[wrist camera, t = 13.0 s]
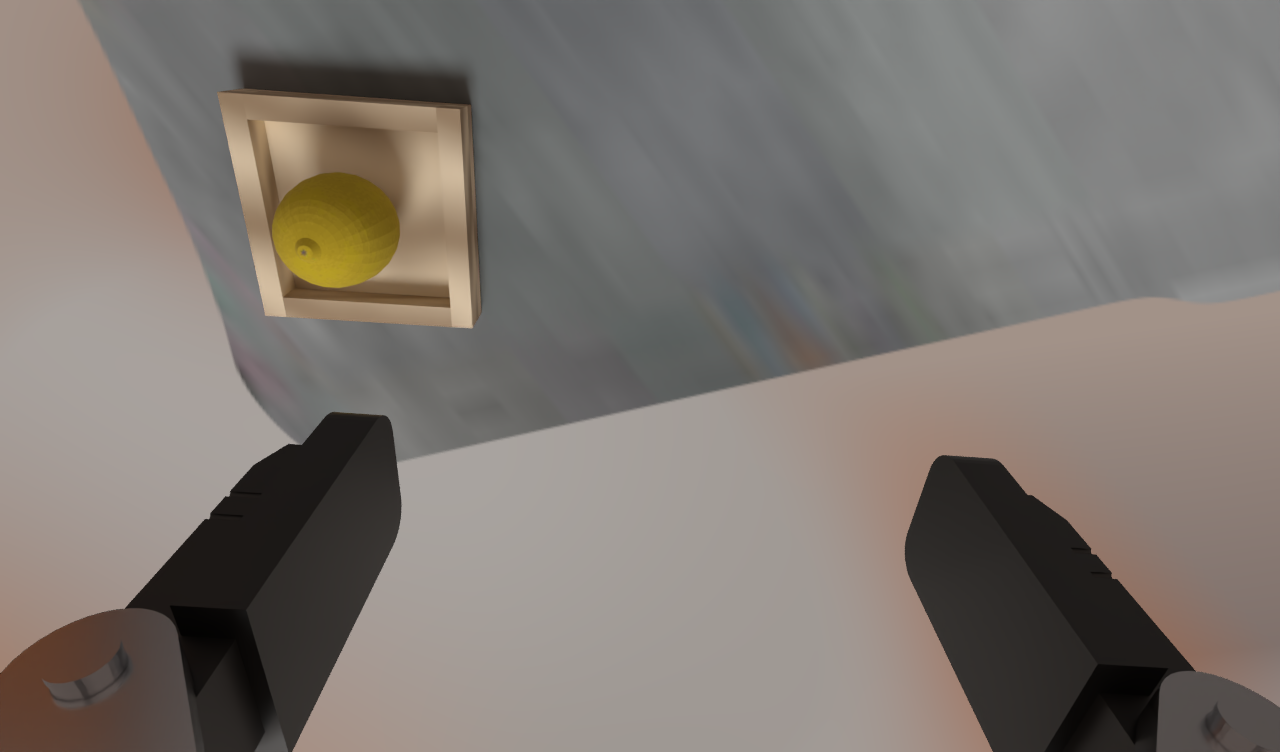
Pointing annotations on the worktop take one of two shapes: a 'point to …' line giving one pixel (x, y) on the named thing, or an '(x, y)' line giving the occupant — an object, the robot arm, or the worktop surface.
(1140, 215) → the worktop surface
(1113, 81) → the worktop surface
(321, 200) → the lemon
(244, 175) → the tray
